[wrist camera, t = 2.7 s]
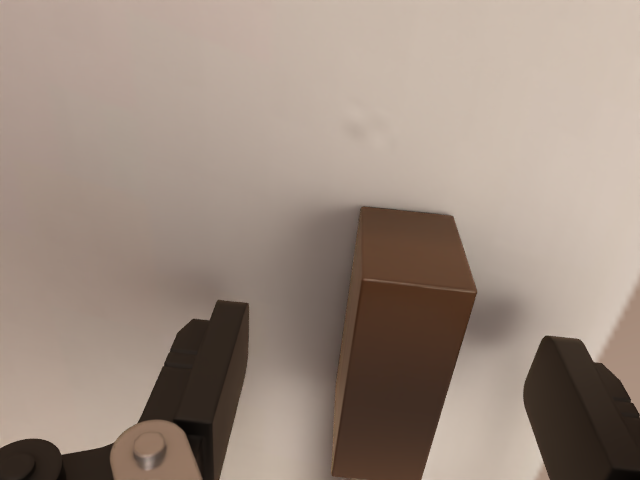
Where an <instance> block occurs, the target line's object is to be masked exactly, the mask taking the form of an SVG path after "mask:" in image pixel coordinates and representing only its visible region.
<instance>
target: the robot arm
mask: <svg viewBox="0 0 640 480" xmlns="http://www.w3.org/2000/svg"><path fill="white" fill-rule="evenodd" d="M248 341H249V304H248V303H243V302H234V301H224V300H218V301H217V302H216V305H215V307H214V310H213V313H212V315H211V318H210V321H209V320H199V319H192V320H191V321H190V322H189V323H188V324H187V325H186V326H184V327H183V328H182V329H181V330H180V331H179V332H178V333H177V335H176V338H175V340H174V342H173V345H172V347H171V349H170V353H169V354H168V356H167V358H166V361H165V363H164V367H162V370H161V372H160V374H159V376H158V379H157V381H156V383H155V386H154V388H153V390H152V392H151V395H150V397H149V399H148V402H147V404H146V406H145V408H144V411H143V413H142V415H141V417H140V419H139V421H138V423H137V424H135V425H133V426H132V427H130V428H128V429H127V430H126V431H124V432H123V433H122V434H121V435H120V436H119V437H118V438H117V440H116V441H115V442H114V443H112V444H110V445H107V446H105V447H101V448H97V449H92V450H87V451H81V452H75V453H70V454H64V455H61V453H60V451H59V449H58V448H57V447H56V446H55V445H54V444H52V443H51V442H49V441H46V440H42V439H25V440H20V441H16V442H13V443H10V444H8V445H6V446H4V447H2V448H0V480H219V479H220V475H221V471H222V466H223V462H224V458H225V454H226V450H227V446H228V442H229V438H230V434H231V430H232V426H233V422H234V418H235V414H236V410H237V406H238V402H239V398H240V394H241V390H242V386H243V382H244V378H245V373H246V367H247V360H248ZM523 399H524V405H525V409H526V412H527V415H528V418H529V421H530V424H531V427H532V429H533V432H534V435H535V438H536V441H537V444H538V447H539V450H540V453H541V456H542V458H543V461H544V464H545V467H546V470H547V472H548V476H549V478H550V480H640V417H639V416H640V415H639V413H638V411H637V409H636V407H635V406H634V404H633V403H631V399H630V397H629V395H628V394H627V392H626V390H625V388H624V387H623V385H622V383H621V381H620V380H619V379H618V378H617V377H616V376H615V375H614V374H612V372H611V371H609V370H608V369H607V368H606V367H605V366H604V365H603V364H602V363H595V362H593V360H592V358H591V356H590V355H589V353H588V351H587V349H586V347H585V345H584V344H583V342H582V341H581V340H579V339H574V338H565V337H556V336H545V337H544V338H543V339H542V340H541V343H540V345H539V348H538V350H537V353H536V355H535V358H534V360H533V363H532V365H531V368H530V370H529V373H528V375H527V378H526V380H525V384H524V391H523Z"/></svg>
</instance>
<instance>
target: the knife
mask: <svg viewBox="0 0 640 480" xmlns="http://www.w3.org/2000/svg"><path fill="white" fill-rule="evenodd" d="M476 294H477V289H476V286H475V283H474V280H473V276H472V273H471V270H470V267H469V264H468V261H467V258H466V255H465V251H464V248H463V245H462V242H461V239H460V236H459V233H458V230H457V227H456V223H455V220H454V217H453V216H449V215H439V214H430V213H420V212H411V211H401V210H392V209H382V208H373V207H361V209H360V216H359V223H358V230H357V237H356V244H355V251H354V259H353V266H352V273H351V280H350V287H349V294H348V301H347V308H346V315H345V322H344V329H343V336H342V343H341V350H340V358H339V365H338V372H337V379H336V386H335V406H334V426H333V447H332V467H331V474H332V476H335V477H344V478H349V480H421V479H422V475H423V472H424V469H425V465H426V462H427V459H428V455H429V452H430V449H431V445H432V442H433V438H434V435H435V432H436V428H437V425H438V422H439V418H440V415H441V412H442V408H443V405H444V401H445V398H446V395H447V391H448V388H449V385H450V381H451V378H452V375H453V371H454V368H455V365H456V361H457V358H458V354H459V351H460V348H461V344H462V341H463V338H464V334H465V331H466V328H467V324H468V321H469V318H470V314H471V311H472V307H473V304H474V301H475V297H476Z"/></svg>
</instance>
